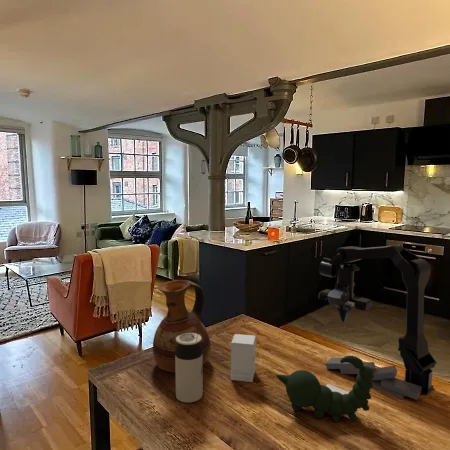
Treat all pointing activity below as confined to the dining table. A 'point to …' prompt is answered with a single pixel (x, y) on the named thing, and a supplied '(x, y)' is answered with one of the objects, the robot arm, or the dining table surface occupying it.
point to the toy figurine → (329, 392)
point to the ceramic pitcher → (179, 323)
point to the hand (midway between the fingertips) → (343, 321)
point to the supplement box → (243, 357)
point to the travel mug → (189, 367)
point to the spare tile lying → (336, 389)
